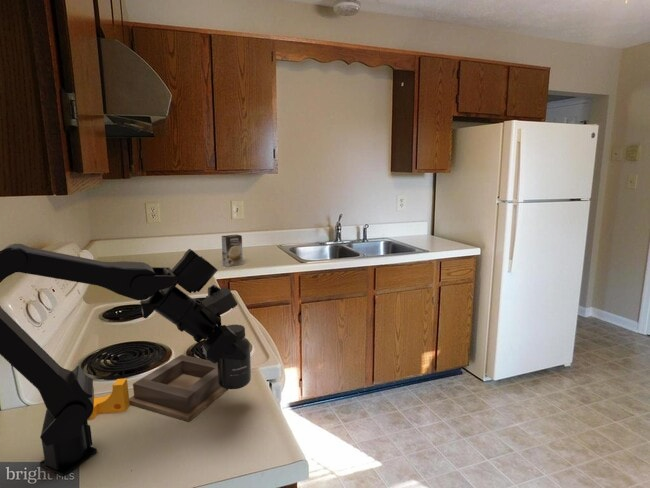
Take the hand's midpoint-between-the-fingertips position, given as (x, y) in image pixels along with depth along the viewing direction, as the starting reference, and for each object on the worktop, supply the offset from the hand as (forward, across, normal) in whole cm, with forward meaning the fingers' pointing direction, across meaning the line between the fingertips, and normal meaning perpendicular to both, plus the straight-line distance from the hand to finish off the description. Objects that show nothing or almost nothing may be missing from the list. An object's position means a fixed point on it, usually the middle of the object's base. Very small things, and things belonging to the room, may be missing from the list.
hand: (240, 351), depth 84 cm
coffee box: (+34, +130, -16) cm, 136 cm away
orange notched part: (-10, +14, +29) cm, 34 cm away
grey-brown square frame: (+2, +12, +16) cm, 20 cm away
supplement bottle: (+4, 0, +6) cm, 7 cm away
